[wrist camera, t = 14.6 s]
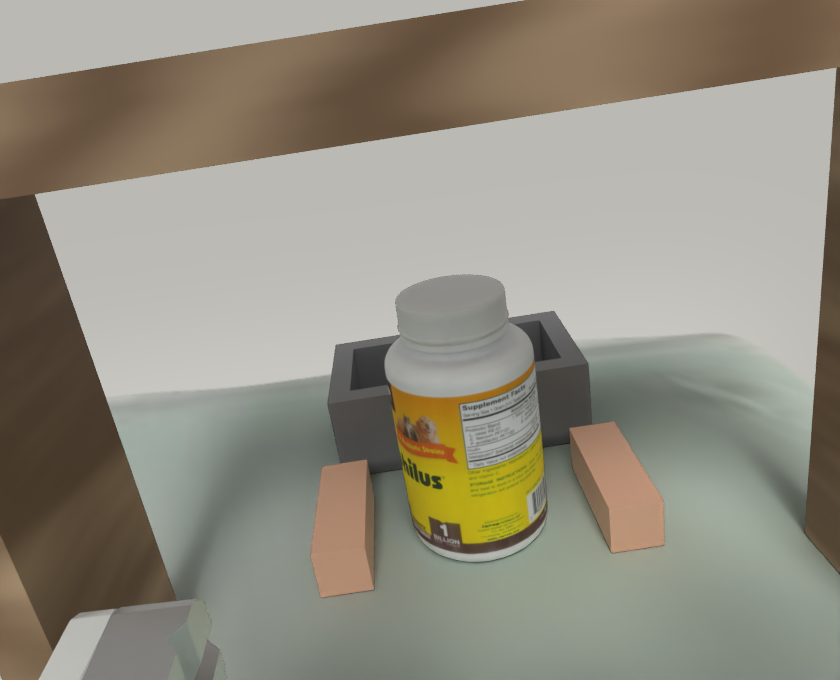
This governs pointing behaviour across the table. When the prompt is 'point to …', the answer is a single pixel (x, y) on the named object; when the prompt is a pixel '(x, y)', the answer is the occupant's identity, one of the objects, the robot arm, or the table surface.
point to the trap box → (371, 408)
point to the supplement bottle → (467, 419)
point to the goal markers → (592, 463)
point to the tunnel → (291, 133)
